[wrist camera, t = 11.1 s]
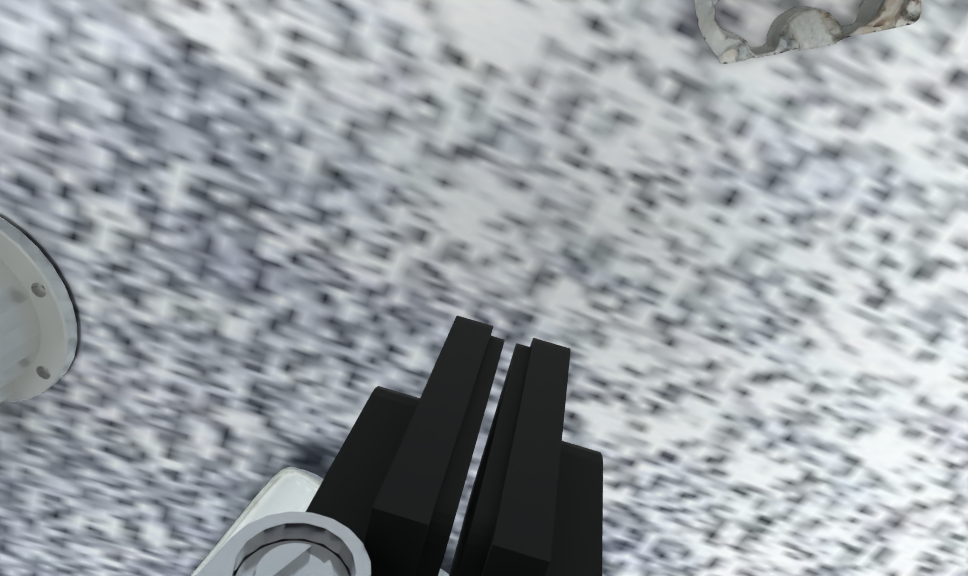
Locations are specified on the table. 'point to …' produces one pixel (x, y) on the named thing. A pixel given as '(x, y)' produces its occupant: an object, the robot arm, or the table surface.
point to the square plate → (276, 503)
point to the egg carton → (804, 28)
